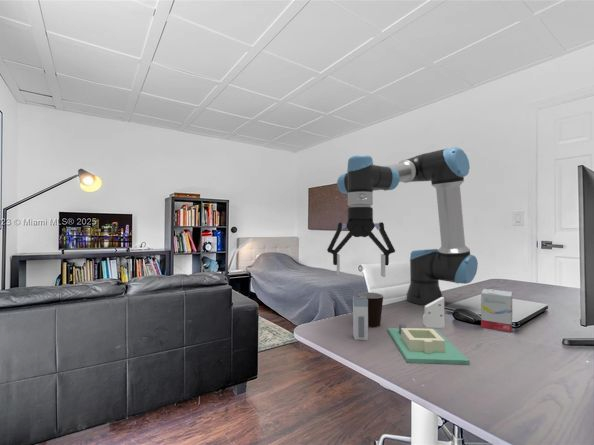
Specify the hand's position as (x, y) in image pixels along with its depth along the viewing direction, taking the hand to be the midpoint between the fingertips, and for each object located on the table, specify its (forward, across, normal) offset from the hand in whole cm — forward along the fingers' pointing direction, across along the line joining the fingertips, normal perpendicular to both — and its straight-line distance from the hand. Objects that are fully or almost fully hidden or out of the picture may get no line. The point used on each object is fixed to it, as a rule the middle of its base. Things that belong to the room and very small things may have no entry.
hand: (360, 276), depth 91 cm
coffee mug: (+19, +5, +14) cm, 24 cm away
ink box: (+19, +47, +13) cm, 52 cm away
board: (+19, +17, -5) cm, 26 cm away
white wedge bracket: (+19, +26, +12) cm, 34 cm away
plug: (+19, 0, 0) cm, 19 cm away
